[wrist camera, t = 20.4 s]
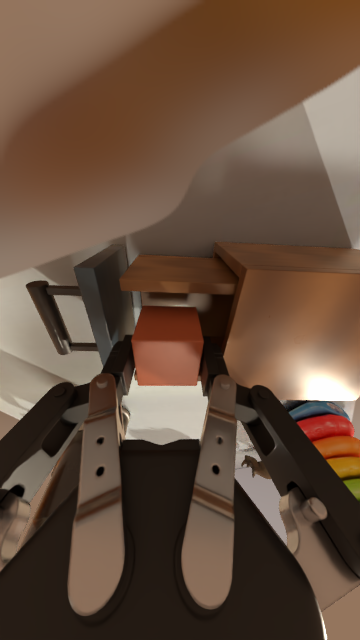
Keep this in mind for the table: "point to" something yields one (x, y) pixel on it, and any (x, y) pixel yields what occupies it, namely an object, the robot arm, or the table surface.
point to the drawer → (156, 290)
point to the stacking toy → (332, 439)
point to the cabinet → (294, 320)
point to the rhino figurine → (256, 467)
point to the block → (167, 346)
